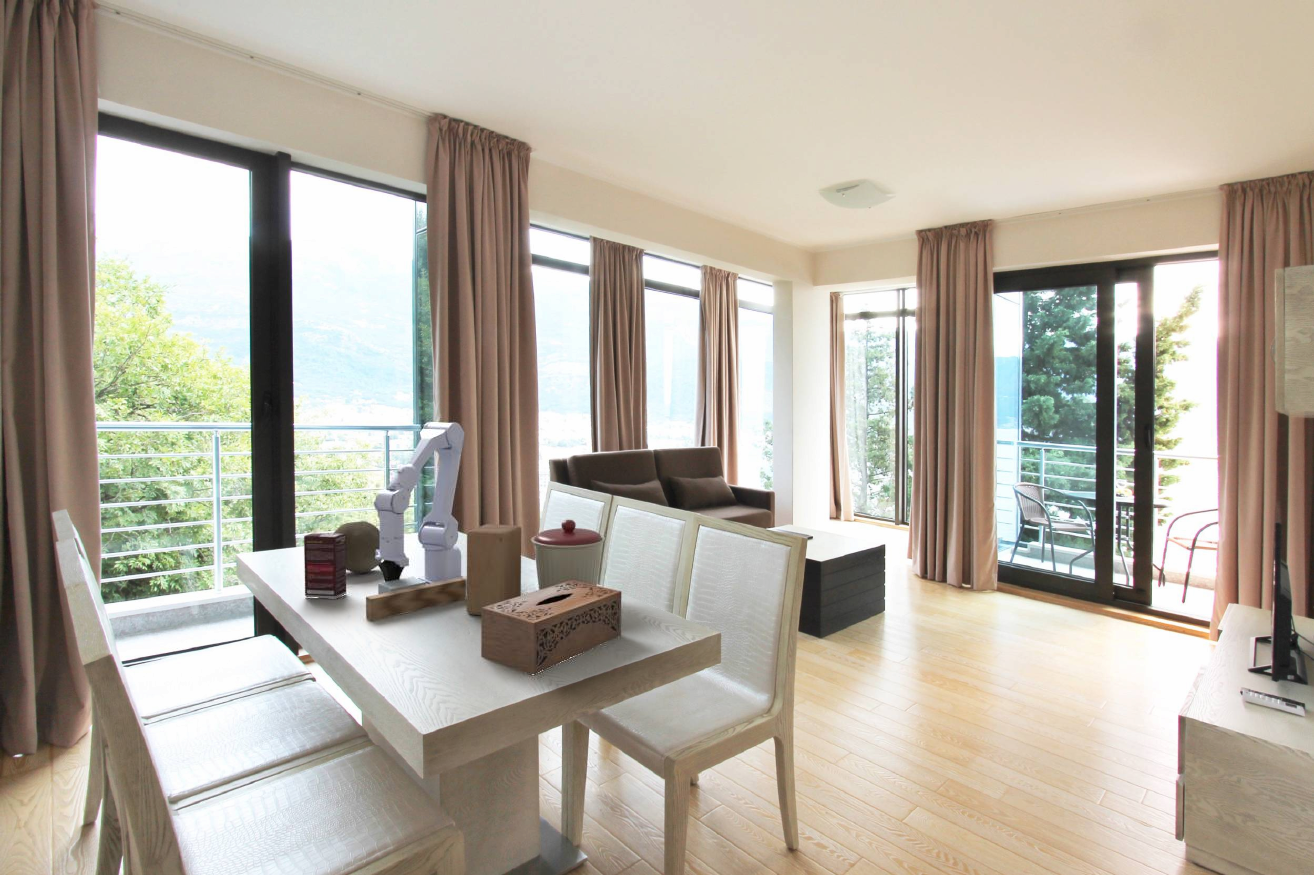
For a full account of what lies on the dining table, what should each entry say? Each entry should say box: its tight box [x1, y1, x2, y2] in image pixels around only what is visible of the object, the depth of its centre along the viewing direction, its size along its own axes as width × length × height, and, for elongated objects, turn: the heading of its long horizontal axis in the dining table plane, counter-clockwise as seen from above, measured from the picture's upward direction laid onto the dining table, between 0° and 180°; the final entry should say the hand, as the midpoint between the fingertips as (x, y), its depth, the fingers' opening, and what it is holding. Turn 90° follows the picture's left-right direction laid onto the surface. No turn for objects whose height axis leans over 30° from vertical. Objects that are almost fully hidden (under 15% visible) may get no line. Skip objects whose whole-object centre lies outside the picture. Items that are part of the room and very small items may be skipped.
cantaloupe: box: [333, 520, 383, 574], centre depth 185 cm, size 14×14×15 cm
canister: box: [530, 519, 606, 590], centre depth 160 cm, size 18×18×21 cm
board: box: [365, 578, 467, 622], centre depth 155 cm, size 24×2×5 cm, turn 137°
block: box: [377, 576, 427, 595], centre depth 161 cm, size 9×7×4 cm
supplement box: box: [303, 532, 347, 600], centre depth 162 cm, size 9×5×16 cm, turn 84°
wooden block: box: [466, 523, 522, 616], centre depth 154 cm, size 10×10×20 cm
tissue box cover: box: [480, 580, 623, 675], centre depth 132 cm, size 26×14×10 cm, turn 145°
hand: (391, 589), depth 164 cm, fingers closed
